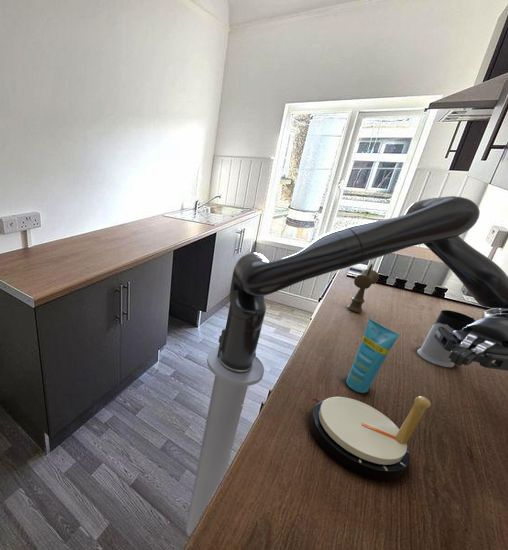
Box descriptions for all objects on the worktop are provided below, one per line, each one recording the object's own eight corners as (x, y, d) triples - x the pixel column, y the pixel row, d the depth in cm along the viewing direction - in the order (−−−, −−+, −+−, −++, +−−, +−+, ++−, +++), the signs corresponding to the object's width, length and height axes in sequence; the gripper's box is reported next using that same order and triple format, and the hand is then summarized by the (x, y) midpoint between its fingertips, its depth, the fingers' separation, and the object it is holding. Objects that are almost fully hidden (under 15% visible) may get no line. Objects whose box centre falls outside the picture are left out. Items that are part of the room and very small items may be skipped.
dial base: (292, 424, 66) (296, 414, 65) (337, 399, 74) (341, 390, 73) (375, 498, 53) (382, 487, 52) (419, 458, 60) (426, 448, 59)
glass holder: (410, 351, 95) (431, 311, 89) (437, 344, 99) (458, 305, 93) (443, 369, 87) (468, 326, 81) (471, 360, 92) (496, 319, 86)
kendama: (366, 309, 120) (385, 263, 112) (358, 316, 114) (378, 269, 106) (349, 303, 124) (366, 259, 116) (341, 310, 118) (358, 263, 110)
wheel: (316, 437, 60) (336, 389, 55) (320, 392, 72) (337, 348, 66) (411, 481, 53) (444, 430, 48) (398, 422, 64) (423, 376, 59)
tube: (337, 378, 81) (362, 318, 73) (350, 375, 83) (375, 316, 75) (364, 398, 75) (393, 335, 67) (377, 394, 76) (407, 332, 69)
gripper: (457, 307, 66) (422, 324, 59) (550, 339, 56) (522, 365, 48) (442, 335, 69) (407, 354, 62) (528, 370, 59) (497, 399, 51)
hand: (457, 359), depth 55 cm, fingers closed
